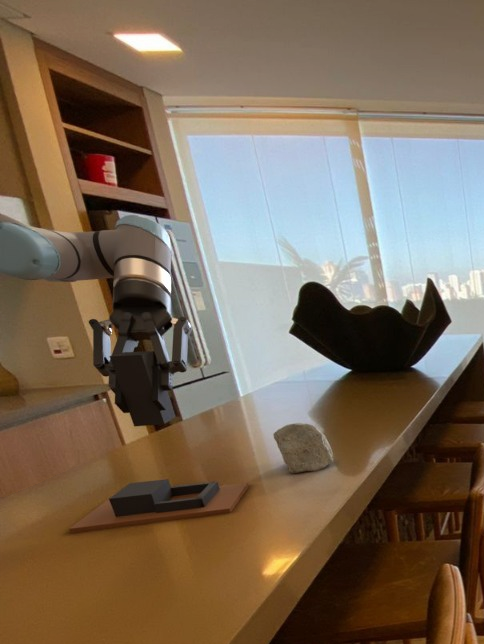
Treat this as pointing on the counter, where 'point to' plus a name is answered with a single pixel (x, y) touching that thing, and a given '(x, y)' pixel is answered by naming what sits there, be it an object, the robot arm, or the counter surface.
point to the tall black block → (140, 387)
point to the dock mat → (161, 504)
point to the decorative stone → (303, 447)
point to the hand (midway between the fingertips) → (140, 406)
